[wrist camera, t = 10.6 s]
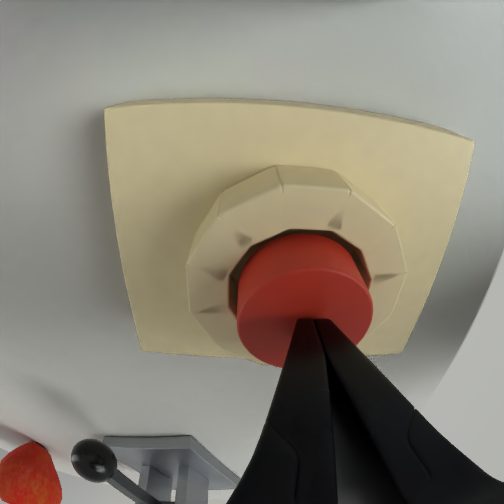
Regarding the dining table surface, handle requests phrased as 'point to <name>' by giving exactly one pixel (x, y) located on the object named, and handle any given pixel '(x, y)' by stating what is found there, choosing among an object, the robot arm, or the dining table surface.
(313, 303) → the button
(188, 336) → the block
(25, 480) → the apple
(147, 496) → the lever handle
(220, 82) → the dining table surface
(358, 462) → the robot arm
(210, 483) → the lever base
